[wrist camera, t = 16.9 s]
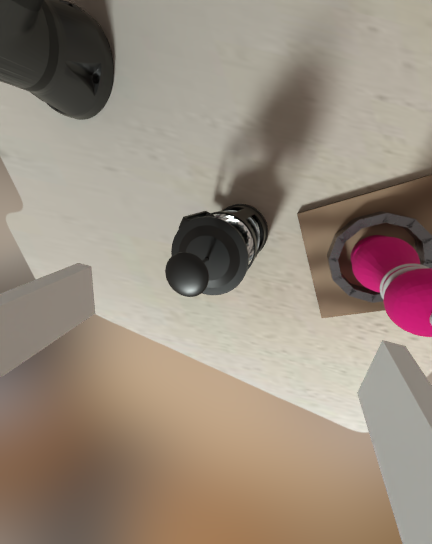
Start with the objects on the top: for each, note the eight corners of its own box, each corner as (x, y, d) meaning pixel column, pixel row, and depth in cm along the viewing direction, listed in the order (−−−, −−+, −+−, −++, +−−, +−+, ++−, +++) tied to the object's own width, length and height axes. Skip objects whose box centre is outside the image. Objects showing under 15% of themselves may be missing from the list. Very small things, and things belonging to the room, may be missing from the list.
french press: (282, 223, 39) (266, 265, 19) (253, 269, 43) (213, 346, 23) (221, 188, 41) (141, 190, 20) (198, 236, 45) (112, 279, 24)
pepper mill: (358, 286, 38) (413, 377, 20) (338, 245, 37) (377, 302, 19) (412, 266, 35) (534, 353, 17) (391, 221, 34) (499, 263, 16)
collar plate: (297, 213, 38) (297, 214, 37) (440, 172, 31) (446, 171, 30) (321, 314, 42) (321, 318, 41) (452, 297, 35) (457, 301, 34)
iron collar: (320, 226, 37) (322, 229, 34) (420, 200, 32) (430, 201, 30) (336, 300, 39) (338, 307, 37) (430, 286, 35) (440, 293, 33)
